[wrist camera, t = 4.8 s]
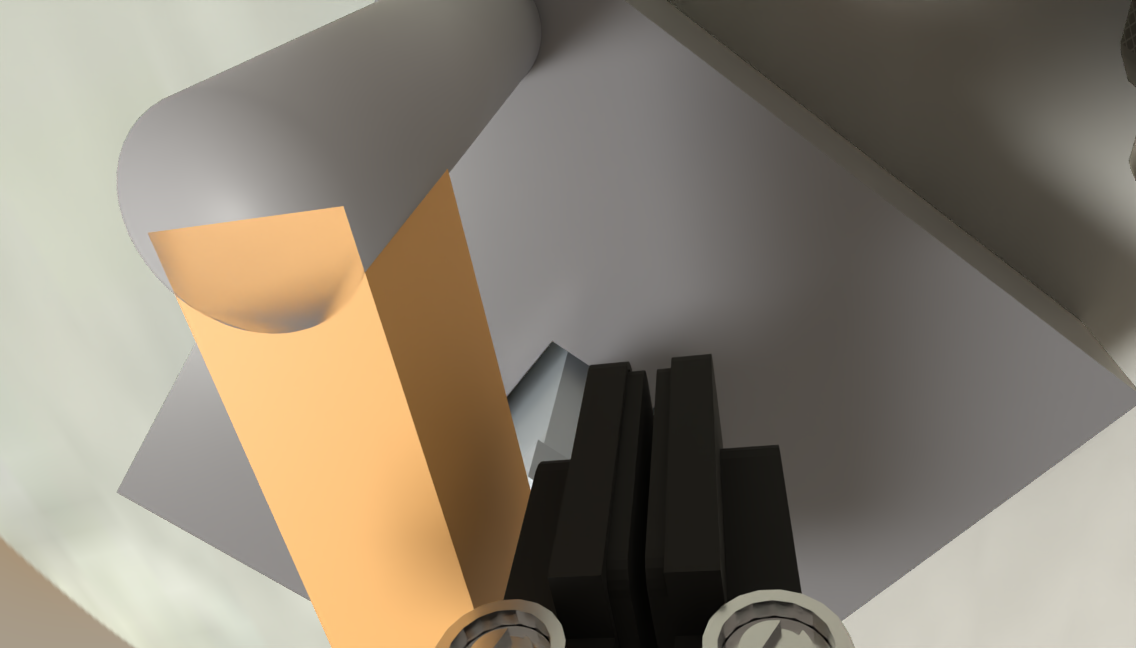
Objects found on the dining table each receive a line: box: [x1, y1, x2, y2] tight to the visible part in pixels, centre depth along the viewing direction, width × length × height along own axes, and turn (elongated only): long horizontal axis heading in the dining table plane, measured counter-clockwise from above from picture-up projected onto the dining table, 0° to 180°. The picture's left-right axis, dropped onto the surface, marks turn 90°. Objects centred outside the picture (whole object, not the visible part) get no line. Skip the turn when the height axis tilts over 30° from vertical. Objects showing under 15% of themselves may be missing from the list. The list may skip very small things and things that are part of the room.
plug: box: [507, 342, 654, 489], centre depth 20 cm, size 5×5×10 cm
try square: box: [117, 0, 541, 648], centre depth 15 cm, size 16×2×10 cm, turn 11°
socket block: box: [117, 0, 1136, 621], centre depth 23 cm, size 18×19×4 cm
